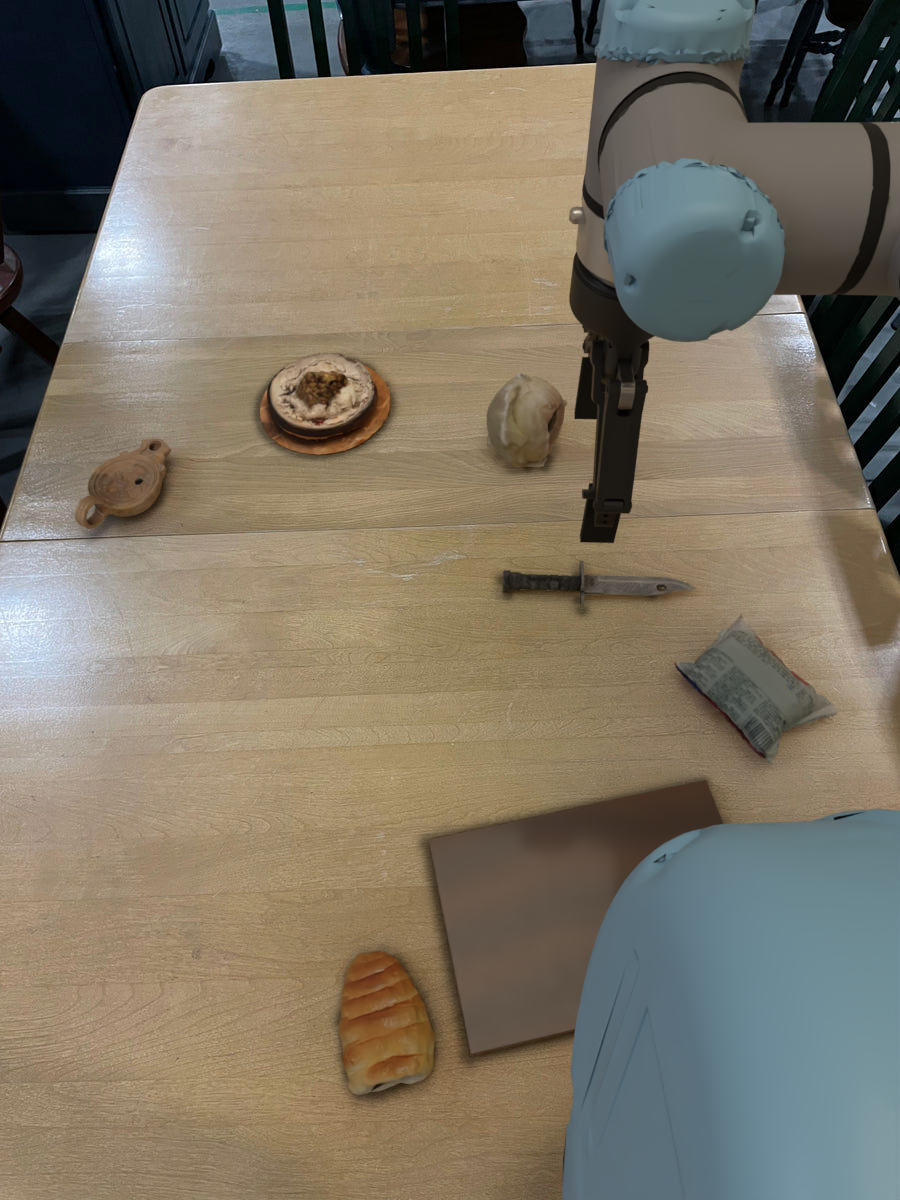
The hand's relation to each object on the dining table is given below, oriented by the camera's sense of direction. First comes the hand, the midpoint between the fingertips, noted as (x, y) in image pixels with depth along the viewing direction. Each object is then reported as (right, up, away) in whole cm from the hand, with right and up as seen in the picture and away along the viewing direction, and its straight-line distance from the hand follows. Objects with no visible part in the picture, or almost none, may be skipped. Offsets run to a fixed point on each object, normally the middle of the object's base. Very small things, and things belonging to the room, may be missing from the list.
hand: (592, 474), depth 72 cm
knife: (+2, -10, +11) cm, 15 cm away
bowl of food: (-27, +12, +26) cm, 39 cm away
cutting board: (-1, -35, -5) cm, 36 cm away
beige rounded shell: (-4, +6, +22) cm, 23 cm away
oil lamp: (-46, 0, +19) cm, 50 cm away
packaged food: (+15, -20, +5) cm, 25 cm away
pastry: (-17, -43, -9) cm, 47 cm away
